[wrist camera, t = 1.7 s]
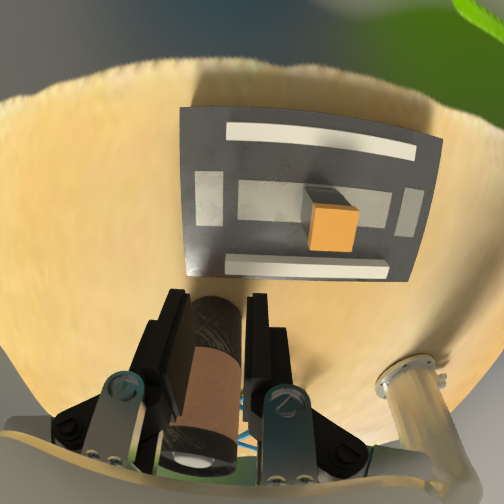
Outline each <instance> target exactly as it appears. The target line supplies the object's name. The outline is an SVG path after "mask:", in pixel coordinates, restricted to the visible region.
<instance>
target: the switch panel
mask: <svg viewBox="0 0 504 504" xmlns="http://www.w3.org/2000/svg"><path fill="white" fill-rule="evenodd" d="M442 144H443V139H441V138H438V137H435V136H431V135H428V134H424V133H421V132H417V131H413V130H409V129H405V128H401V127H397V126H393V125H388V124H384V123H379V122H374V121H369V120H364V119H358V118H353V117H347V116H340V115H334V114H327V113H319V112H311V111H302V110H291V109H279V108H263V107H237V106H204V107H180V179H181V204H182V222H183V238H184V251H185V264H186V275H187V276H203V277H223V278H246V279H273V280H307V281H358V282H408V280H409V278H410V275H411V272H412V269H413V266H414V263H415V260H416V257H417V254H418V250H419V247H420V244H421V240H422V237H423V233H424V230H425V226H426V222H427V219H428V215H429V211H430V207H431V203H432V198H433V194H434V189H435V184H436V179H437V174H438V169H439V163H440V157H441V151H442ZM304 188H317V189H328V190H338V191H339V192H340V193H341V194H342V195H343V196H344V198H345V199H346V200H347V201H348V202H349V203H350V204H351V205H352V206H355V207H356V208H357V209H358V210H359V211H360V213H359V218H358V223H357V228H356V233H355V238H354V242H353V247H352V252H338V251H316V250H309V247H308V239H307V236H306V234H305V231H304V228H303V226H302V223H301V211H302V202H303V193H304Z"/></svg>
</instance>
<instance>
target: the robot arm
mask: <svg viewBox="0 0 504 504" xmlns="http://www.w3.org/2000/svg"><path fill="white" fill-rule="evenodd" d="M194 352H195V334H194V326H193V318H192V309H191V299H190V294H188V293H185V290H183V289H170V290H169V293H168V295H167V298H166V300H165V303H164V305H163V308H162V310H161V313H160V315H159V318H158V320H149V321H148V323H147V325H146V328H145V330H144V333H143V335H142V338H141V340H140V343H139V345H138V348H137V350H136V353H135V355H134V358H133V361H132V363H131V366H130V369H129V371H120V372H116V373H114V374H112V375H111V376H110V377H109V378H107V380H106V382H105V383H104V386H103V388H102V391H101V394H99V395H97V396H95V397H93V398H91V399H88V400H86V401H84V402H82V403H80V404H78V405H76V406H73V407H71V408H69V409H67V410H65V411H62V412H61V413H59V414H58V415H57V416H56V417H52V416H51V415H42V416H13V417H10V418H9V419H7V421H6V422H5V424H4V428H3V431H0V504H479V502H480V501H481V498H482V495H483V487H482V483H481V481H480V479H479V477H478V475H477V473H476V471H475V469H474V468H473V466H472V464H471V462H470V460H469V458H468V456H467V454H466V452H465V449H464V447H463V444H462V442H461V440H460V437H459V434H458V432H457V430H456V427H455V424H454V422H453V420H452V417H451V415H450V412H449V410H448V408H447V405H446V403H445V401H444V399H443V396H442V394H441V392H440V390H439V389H441V388H444V387H445V386H446V381H445V380H446V378H447V375H446V373H443V374H440V375H437V374H436V372H435V368H436V363H435V360H434V359H433V357H432V356H430V355H427V354H420V355H415V356H411V357H408V358H406V359H404V360H402V361H400V362H398V363H396V364H395V365H393V366H392V367H390V368H389V369H387V370H386V371H385V372H384V373H383V374H382V375H381V376H380V377H379V379H378V381H377V382H376V385H375V391H376V394H377V396H378V397H380V398H382V399H387V401H388V404H389V407H390V410H391V413H392V416H393V419H394V422H395V426H396V429H397V432H398V436H399V439H400V442H401V446H402V449H397V448H390V447H385V446H380V445H374V446H368V445H365V443H364V442H362V441H361V440H360V439H359V438H357V437H355V436H354V435H352V434H350V433H349V432H347V431H346V430H344V429H343V428H341V427H339V426H338V425H336V424H335V423H333V422H332V421H330V420H329V419H327V418H326V417H324V416H323V415H321V414H320V413H318V412H317V411H315V410H314V409H312V408H311V401H310V398H309V395H308V394H307V393H306V391H304V390H303V389H302V388H300V387H298V386H296V385H293V381H292V372H291V364H290V355H289V347H288V338H287V331H286V328H285V327H269V318H268V301H267V294H266V293H253V297H247V313H246V337H245V364H244V395H243V422H248V429H249V434H250V435H251V436H252V437H254V438H255V439H256V440H257V441H258V442H257V473H256V486H233V485H219V484H207V483H198V482H190V481H183V480H176V479H170V478H165V477H159V476H157V470H158V463H159V457H160V450H161V444H162V438H163V430H164V429H166V428H167V427H169V425H170V422H172V423H176V420H177V416H182V413H183V408H184V403H185V397H186V392H187V387H188V382H189V377H190V372H191V367H192V362H193V357H194Z"/></svg>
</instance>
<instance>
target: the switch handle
mask: <svg viewBox="0 0 504 504" xmlns="http://www.w3.org/2000/svg"><path fill="white" fill-rule="evenodd" d="M359 213H360V211H359V210H358V209H357V208H356V207H355V206H352V205H351V204H350V203H349V202H348V201H347V200H346V199H345V198H344V196H343V195H342V194H341V193H340V192H339V191H338V190H328V189H317V188H304V193H303V202H302V211H301V223H302V226H303V228H304V231H305V234H306V236H307V239H308V247H309V250H316V251H338V252H352V247H353V242H354V238H355V233H356V228H357V223H358V218H359Z"/></svg>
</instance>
